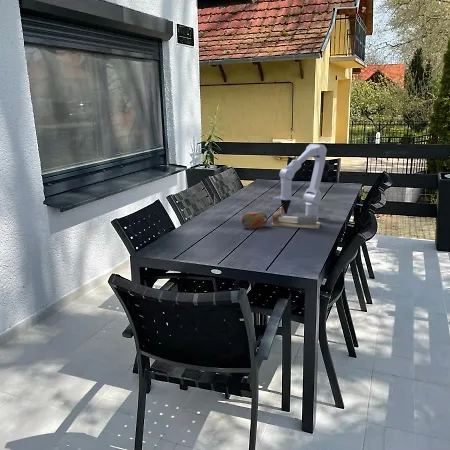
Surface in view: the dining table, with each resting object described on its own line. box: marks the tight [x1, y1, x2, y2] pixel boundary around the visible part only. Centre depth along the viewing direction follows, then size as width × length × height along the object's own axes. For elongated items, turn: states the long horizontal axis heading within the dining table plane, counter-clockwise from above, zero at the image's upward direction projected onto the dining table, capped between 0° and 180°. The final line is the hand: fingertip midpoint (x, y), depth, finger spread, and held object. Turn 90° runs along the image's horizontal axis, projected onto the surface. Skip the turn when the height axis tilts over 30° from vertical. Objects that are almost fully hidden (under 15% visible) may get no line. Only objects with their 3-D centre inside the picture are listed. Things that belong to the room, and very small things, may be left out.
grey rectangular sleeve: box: [297, 214, 317, 225], centre depth 262 cm, size 5×10×4 cm, turn 75°
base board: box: [270, 221, 321, 229], centre depth 264 cm, size 10×26×1 cm, turn 75°
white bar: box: [278, 206, 298, 222], centre depth 264 cm, size 3×16×8 cm, turn 76°
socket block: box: [272, 211, 280, 224], centre depth 266 cm, size 7×3×5 cm, turn 165°
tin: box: [240, 211, 268, 229], centre depth 260 cm, size 15×3×8 cm, turn 105°
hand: (285, 213), depth 264 cm, fingers closed
